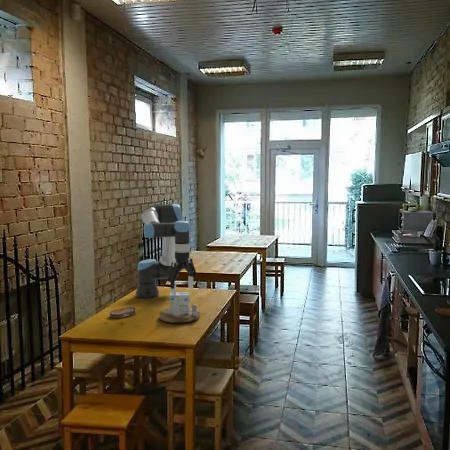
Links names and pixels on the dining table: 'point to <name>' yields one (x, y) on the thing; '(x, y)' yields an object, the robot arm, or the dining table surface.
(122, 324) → the dining table surface
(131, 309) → the tin
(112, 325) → the dining table surface
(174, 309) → the light bulb box
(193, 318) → the brown wide round piece
